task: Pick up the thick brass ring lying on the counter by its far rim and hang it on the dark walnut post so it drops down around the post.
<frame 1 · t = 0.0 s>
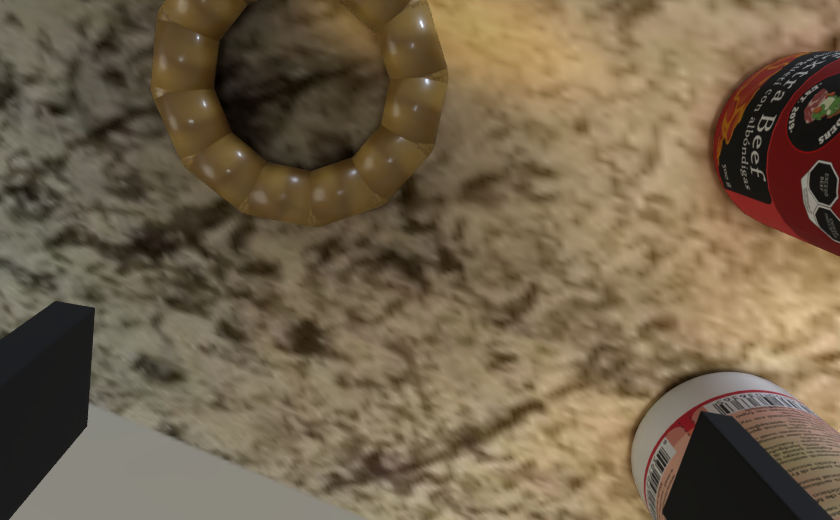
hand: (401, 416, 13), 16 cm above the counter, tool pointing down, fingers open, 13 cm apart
fruit juice: (710, 443, 34), on the counter
ring: (301, 83, 26), point 1 cm above the counter
canned food: (787, 140, 29), on the counter
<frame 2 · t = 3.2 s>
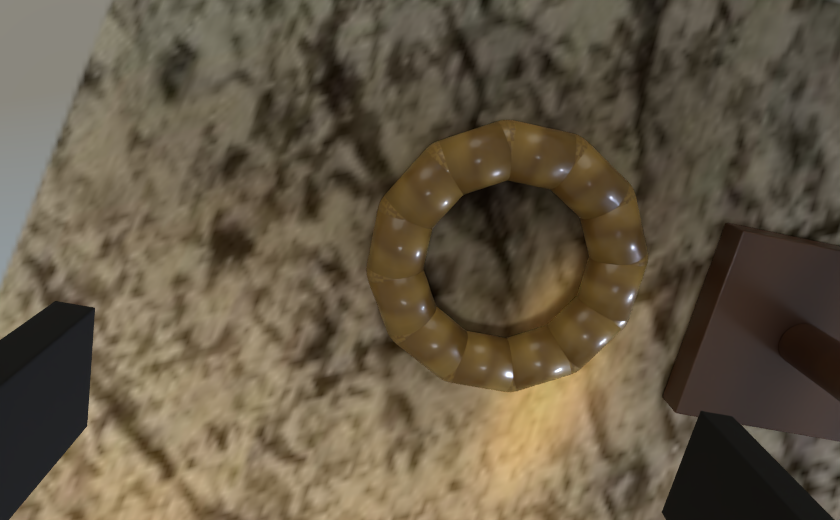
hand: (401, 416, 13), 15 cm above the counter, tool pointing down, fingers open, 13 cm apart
post: (780, 330, 30), on the counter
ring: (507, 263, 27), point 1 cm above the counter
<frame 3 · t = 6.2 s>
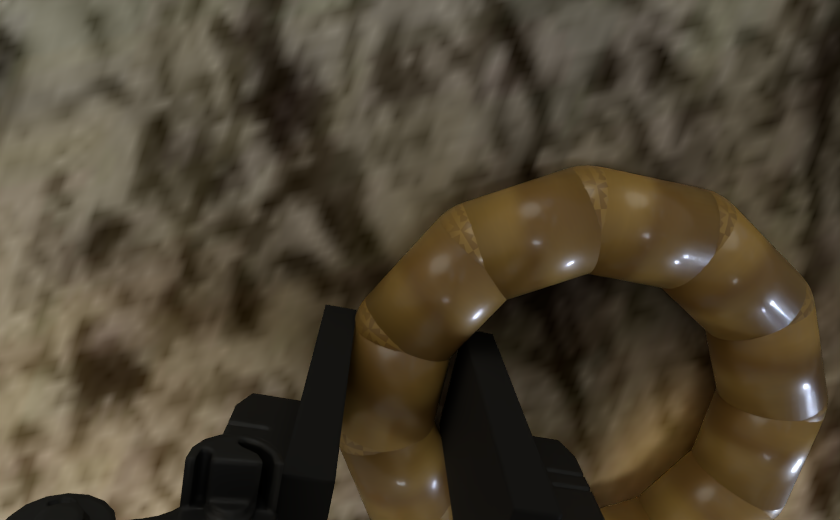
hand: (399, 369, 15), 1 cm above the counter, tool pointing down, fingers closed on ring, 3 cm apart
ring: (579, 408, 16), point 1 cm above the counter, touching gripper
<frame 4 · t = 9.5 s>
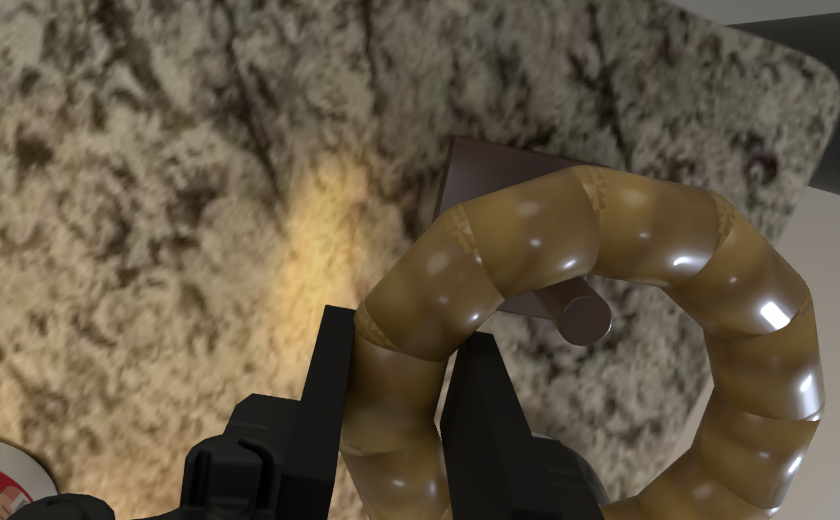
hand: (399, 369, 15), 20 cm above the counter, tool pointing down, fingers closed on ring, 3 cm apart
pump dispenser: (508, 472, 41), on the counter
post: (511, 228, 35), on the counter
ring: (577, 408, 16), point 21 cm above the counter, touching gripper
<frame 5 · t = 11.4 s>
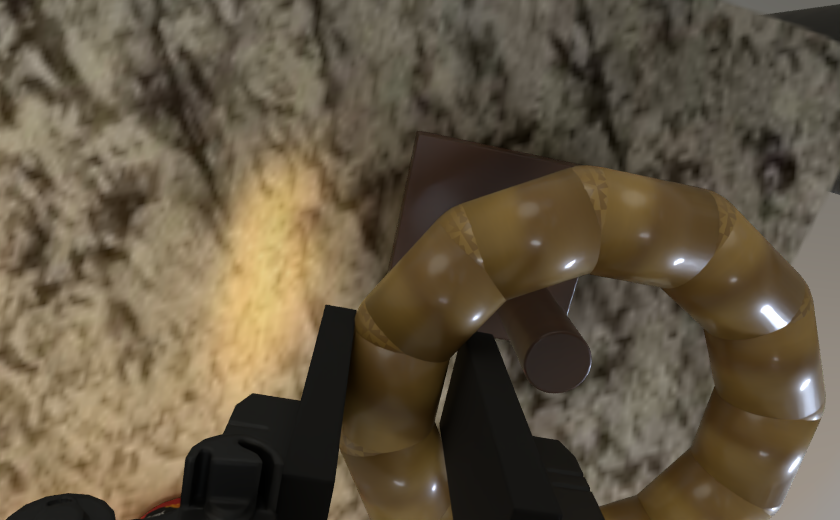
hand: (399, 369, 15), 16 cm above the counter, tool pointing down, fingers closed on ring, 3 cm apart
post: (487, 239, 31), on the counter
ring: (578, 408, 16), point 16 cm above the counter, touching gripper
when the fingers open (12 cm above the counter, at t = 13.1 s): ring drops 9 cm, resting on post.
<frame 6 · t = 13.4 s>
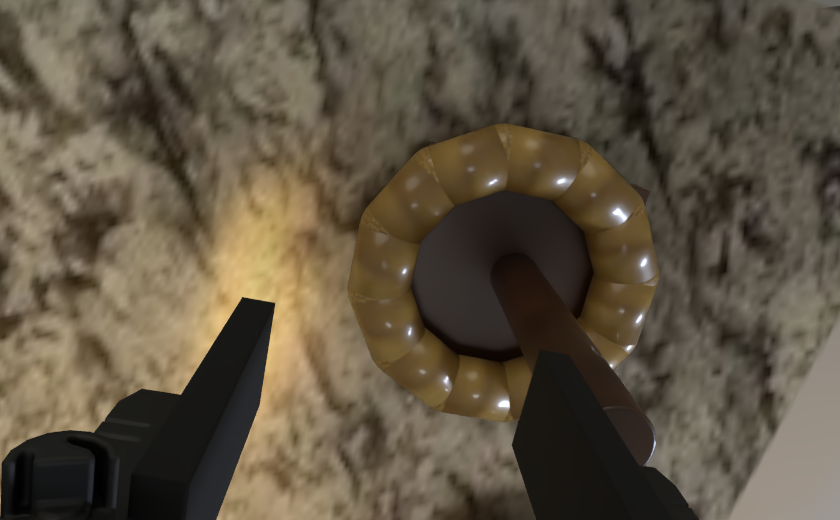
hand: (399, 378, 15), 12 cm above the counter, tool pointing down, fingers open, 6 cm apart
post: (507, 265, 27), on the counter
ring: (503, 281, 24), point 3 cm above the counter, touching post
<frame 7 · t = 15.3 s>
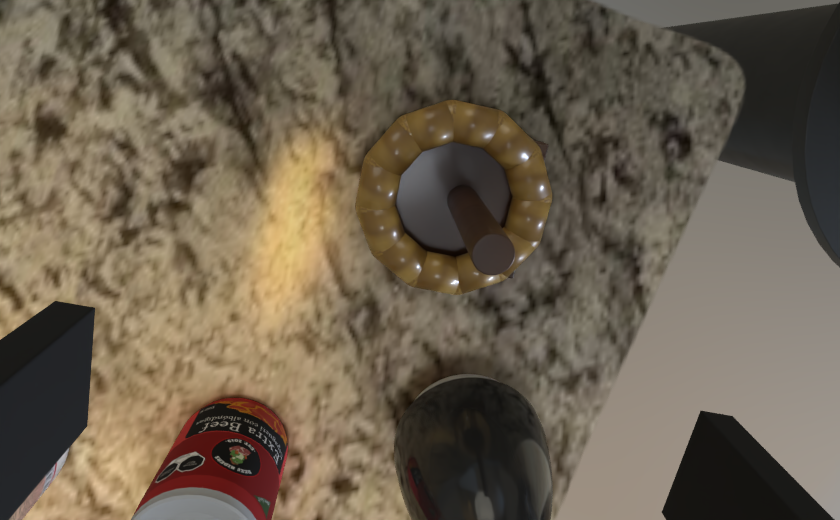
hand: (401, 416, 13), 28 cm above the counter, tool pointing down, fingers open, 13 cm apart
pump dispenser: (463, 414, 46), on the counter
fruit juice: (7, 429, 45), on the counter
post: (459, 195, 41), on the counter
ring: (454, 201, 38), point 3 cm above the counter, touching post
canned food: (236, 439, 46), on the counter
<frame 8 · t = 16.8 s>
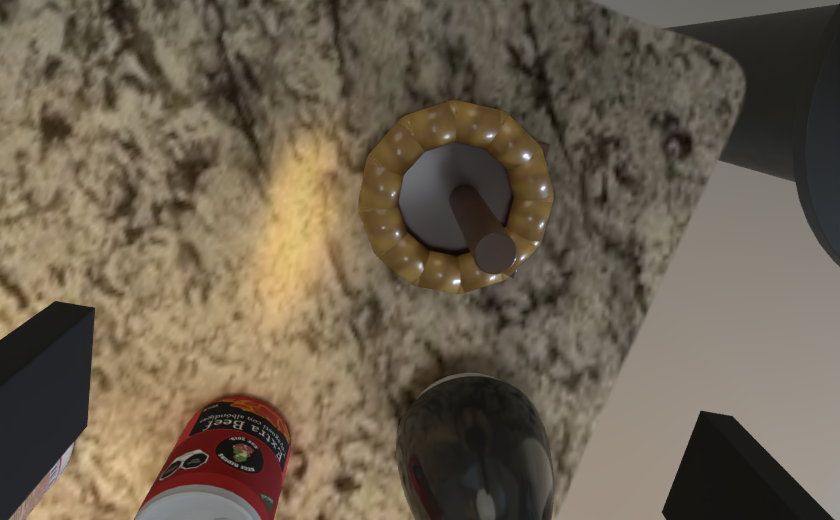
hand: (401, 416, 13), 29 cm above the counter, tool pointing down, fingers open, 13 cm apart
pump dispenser: (465, 413, 46), on the counter
fruit juice: (12, 427, 45), on the counter
post: (461, 195, 41), on the counter
ring: (456, 201, 39), point 3 cm above the counter, touching post
canned food: (239, 438, 46), on the counter
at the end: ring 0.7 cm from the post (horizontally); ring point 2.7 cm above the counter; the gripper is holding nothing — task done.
